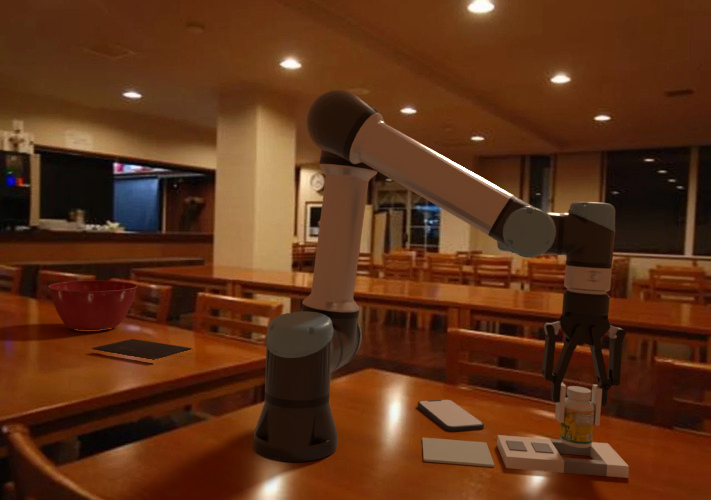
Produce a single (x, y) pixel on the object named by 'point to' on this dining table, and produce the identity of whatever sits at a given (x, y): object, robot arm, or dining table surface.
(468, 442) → the rubber mat
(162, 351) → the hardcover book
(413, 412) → the dining table surface
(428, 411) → the phone case
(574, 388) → the supplement bottle
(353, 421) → the dining table surface
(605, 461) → the white fixture tray
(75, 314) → the mixing bowl
